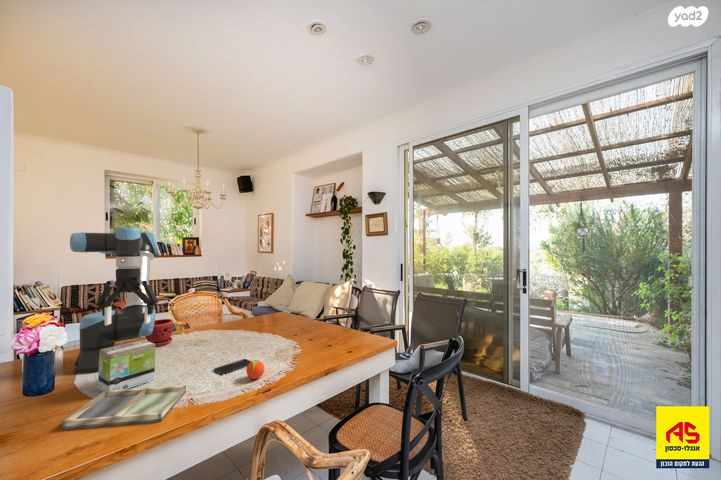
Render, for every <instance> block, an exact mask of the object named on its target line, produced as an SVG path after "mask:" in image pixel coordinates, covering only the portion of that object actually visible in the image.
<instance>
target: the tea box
mask: <svg viewBox="0 0 721 480" xmlns="http://www.w3.org/2000/svg"><path fill="white" fill-rule="evenodd" d="M155 368H156V347H155V344H154V343H151V342H148V341H147V339H146V340H145V339H141V340H136V341H133V342H128V343H124V344H119V345H115V346H114V347H109V348H105V349H100V350H99V371H98V372H97V374H98V377H97V379H98V380H97V389H98V390H99V391H101V392H104V391H114V390H129V389H132V388H134V386H135V387H138V386H141V385H140V384H142V385H144V384H143V383H145V384H147V383H146V382H148V381H151V380H154V381H155V374H156V371H155V370H156V369H155ZM151 382H152V381H151ZM148 383H149V382H148ZM137 385H138V386H137ZM131 387H132V388H131Z"/></svg>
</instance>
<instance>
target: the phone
mask: <svg viewBox="0 0 721 480" xmlns="http://www.w3.org/2000/svg"><path fill="white" fill-rule="evenodd" d="M252 361H253V360H249V359H246V358H243V359H239V360H236V361H233V362H231V363H226V364H224V365H220V366H218V367H214V368H213V372H214V373H216V372H217V373H216V374H218V373H219V374H218V375H220V374H221V375H220V376H224V375H223V374H225V375H228V374H231V373H234V372H236V370H237V371H240V370H242V368H243V369H246V368H247V366H248V365H249V363H250V362H252ZM245 367H246V368H245ZM239 369H240V370H239ZM233 371H234V372H233ZM230 372H231V373H230ZM227 373H228V374H227Z"/></svg>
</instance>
